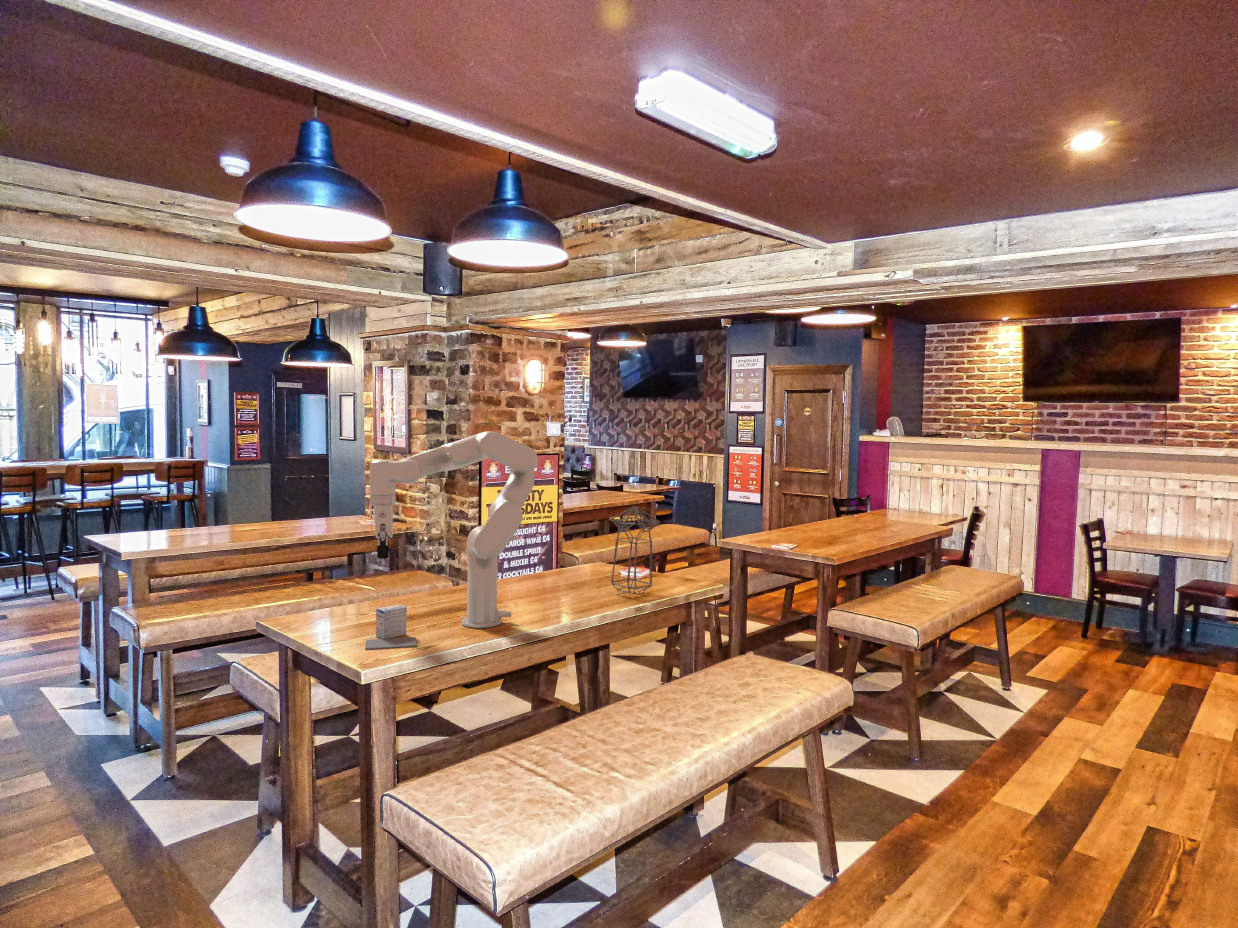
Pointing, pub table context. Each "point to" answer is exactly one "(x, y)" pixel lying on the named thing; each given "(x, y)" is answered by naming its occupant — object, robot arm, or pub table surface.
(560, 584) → the pub table surface
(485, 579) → the robot arm
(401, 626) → the medicine box
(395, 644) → the charcoal mat
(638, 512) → the geometric lantern
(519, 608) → the pub table surface
